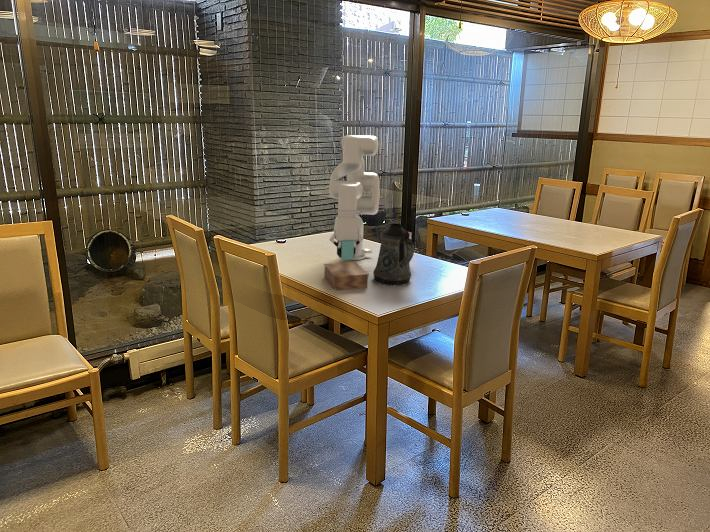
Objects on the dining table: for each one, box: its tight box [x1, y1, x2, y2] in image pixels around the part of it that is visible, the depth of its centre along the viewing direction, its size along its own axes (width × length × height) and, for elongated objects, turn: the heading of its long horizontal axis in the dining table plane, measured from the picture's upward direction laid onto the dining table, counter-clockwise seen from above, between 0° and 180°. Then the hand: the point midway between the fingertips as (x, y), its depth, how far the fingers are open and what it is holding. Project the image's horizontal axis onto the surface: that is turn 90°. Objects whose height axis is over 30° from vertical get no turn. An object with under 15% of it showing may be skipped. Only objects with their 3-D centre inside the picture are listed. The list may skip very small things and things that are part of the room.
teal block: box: [338, 241, 354, 261], centre depth 224 cm, size 5×5×8 cm
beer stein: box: [372, 223, 415, 286], centre depth 230 cm, size 16×19×25 cm
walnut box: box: [323, 261, 370, 290], centre depth 228 cm, size 15×19×6 cm
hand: (346, 255), depth 225 cm, fingers closed on teal block, 5 cm apart
